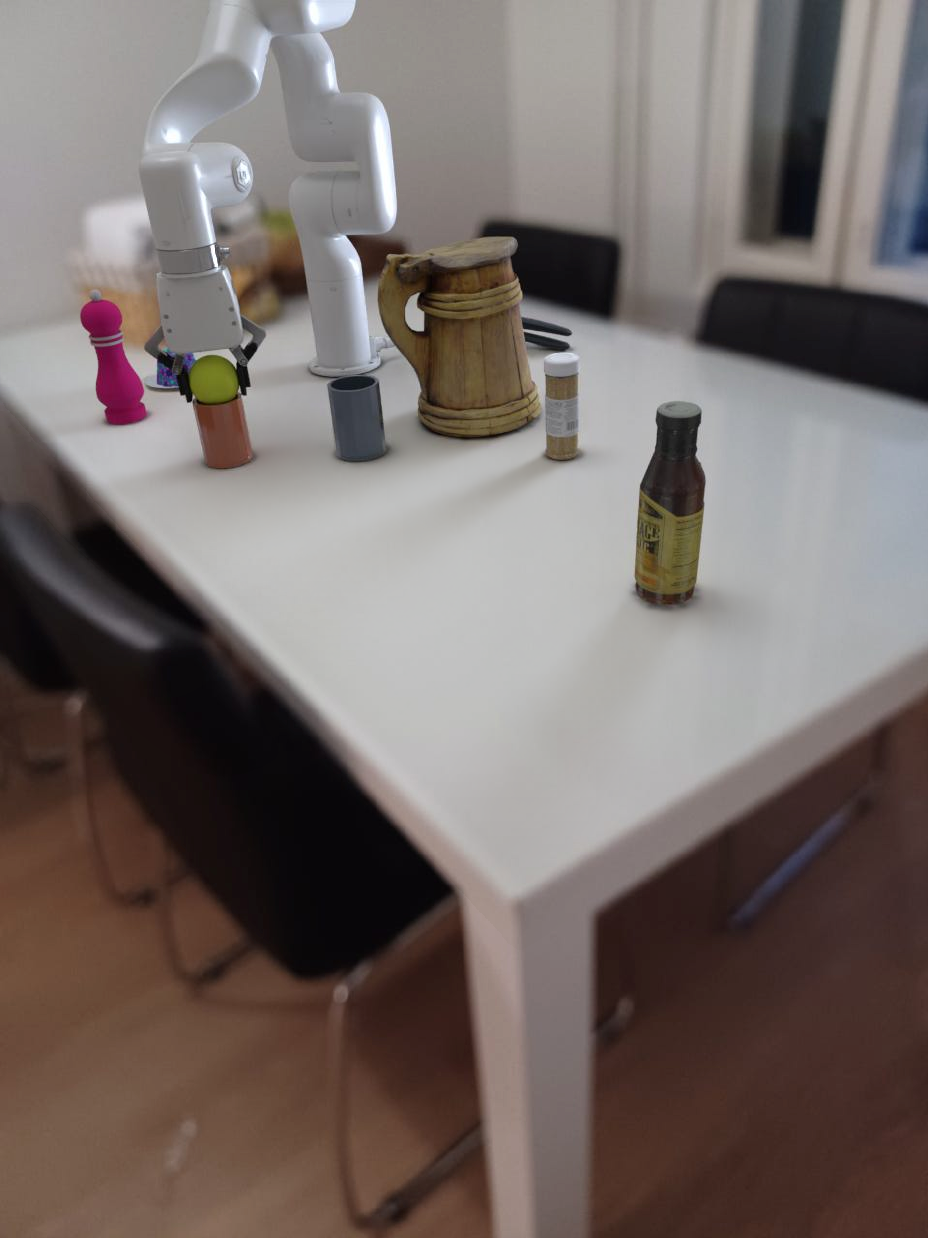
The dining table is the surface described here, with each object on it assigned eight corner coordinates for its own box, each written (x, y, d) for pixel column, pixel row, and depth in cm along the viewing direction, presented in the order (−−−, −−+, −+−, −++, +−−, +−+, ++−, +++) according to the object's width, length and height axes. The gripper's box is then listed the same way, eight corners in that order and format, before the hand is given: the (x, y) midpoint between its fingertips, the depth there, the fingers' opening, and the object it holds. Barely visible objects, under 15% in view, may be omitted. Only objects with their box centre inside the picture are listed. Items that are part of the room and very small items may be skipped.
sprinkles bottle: (567, 445, 132) (567, 349, 125) (585, 456, 129) (586, 357, 122) (539, 452, 131) (537, 355, 124) (556, 463, 127) (555, 364, 120)
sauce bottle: (627, 580, 100) (634, 397, 90) (686, 575, 100) (700, 391, 90) (642, 613, 95) (652, 421, 84) (704, 607, 95) (721, 415, 84)
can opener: (475, 345, 176) (474, 314, 173) (494, 335, 181) (493, 305, 178) (562, 356, 167) (561, 323, 164) (579, 345, 172) (579, 313, 169)
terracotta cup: (242, 446, 139) (231, 386, 135) (259, 460, 135) (248, 398, 130) (199, 458, 137) (186, 397, 132) (214, 472, 132) (201, 409, 127)
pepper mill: (136, 426, 149) (103, 295, 139) (95, 425, 151) (59, 295, 140) (158, 410, 155) (127, 283, 145) (117, 409, 157) (85, 284, 146)
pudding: (131, 389, 166) (123, 359, 163) (173, 368, 175) (167, 339, 172) (188, 394, 161) (181, 363, 159) (228, 372, 171) (222, 342, 168)
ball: (233, 392, 135) (224, 344, 132) (251, 405, 130) (242, 356, 127) (187, 403, 133) (176, 355, 129) (203, 417, 128) (192, 367, 124)
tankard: (564, 419, 141) (563, 241, 128) (421, 457, 132) (404, 269, 119) (502, 388, 155) (496, 223, 141) (369, 419, 146) (349, 247, 133)
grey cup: (372, 438, 139) (364, 371, 134) (395, 453, 134) (387, 383, 129) (328, 450, 136) (318, 382, 131) (350, 465, 131) (341, 395, 126)
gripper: (257, 247, 126) (279, 379, 135) (121, 261, 123) (154, 395, 133) (258, 258, 119) (282, 396, 129) (116, 273, 117) (150, 413, 126)
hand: (217, 394), depth 131 cm, fingers closed on ball, 6 cm apart
